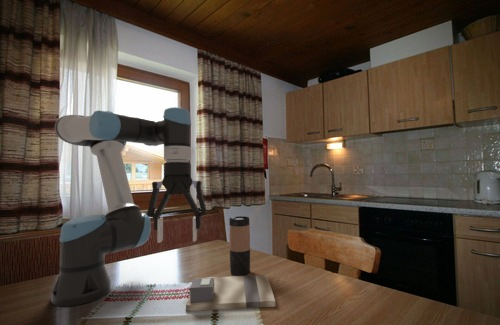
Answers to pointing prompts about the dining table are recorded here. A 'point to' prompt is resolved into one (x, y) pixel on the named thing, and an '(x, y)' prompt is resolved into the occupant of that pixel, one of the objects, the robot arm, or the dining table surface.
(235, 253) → the travel mug
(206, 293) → the grey small block
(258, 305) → the panel
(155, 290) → the dining table surface
